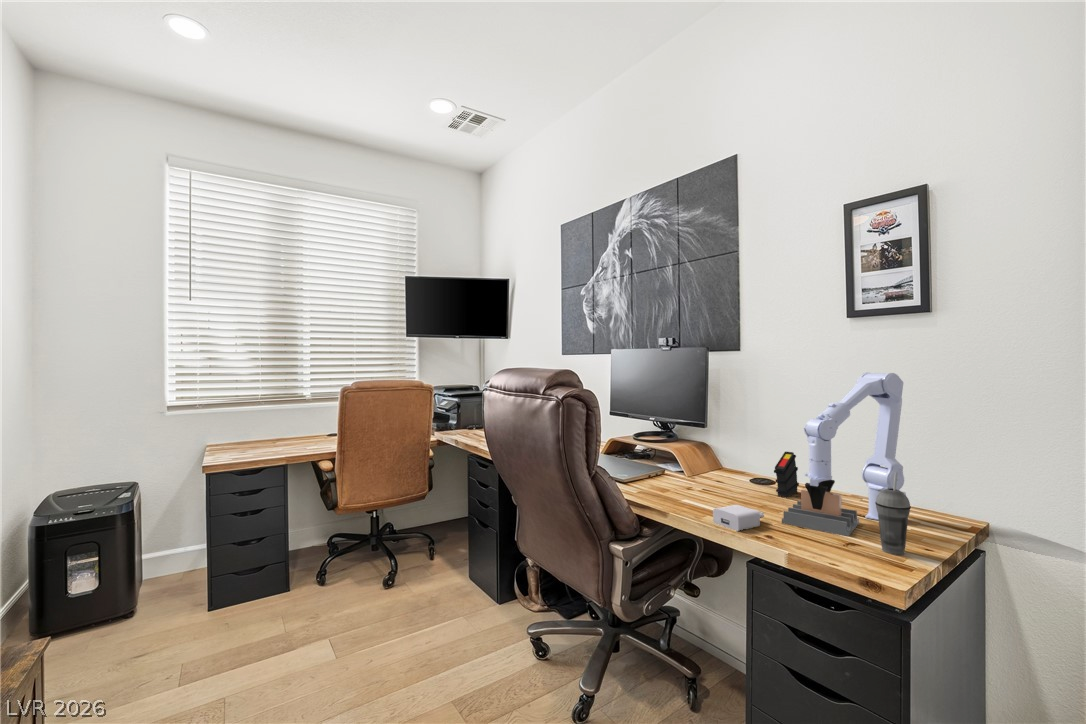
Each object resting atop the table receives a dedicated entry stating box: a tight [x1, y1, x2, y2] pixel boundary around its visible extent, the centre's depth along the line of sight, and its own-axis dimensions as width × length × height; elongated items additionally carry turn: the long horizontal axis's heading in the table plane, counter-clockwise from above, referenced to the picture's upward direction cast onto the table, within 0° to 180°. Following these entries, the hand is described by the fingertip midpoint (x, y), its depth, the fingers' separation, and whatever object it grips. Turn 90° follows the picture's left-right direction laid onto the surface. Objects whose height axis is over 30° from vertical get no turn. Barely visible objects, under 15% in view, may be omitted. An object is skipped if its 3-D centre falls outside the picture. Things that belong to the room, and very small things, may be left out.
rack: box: [781, 500, 860, 537], centre depth 145 cm, size 17×15×4 cm
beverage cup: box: [875, 472, 911, 556], centre depth 123 cm, size 7×7×20 cm
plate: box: [800, 488, 842, 516], centre depth 145 cm, size 10×3×8 cm, turn 48°
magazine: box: [773, 451, 800, 498], centre depth 178 cm, size 4×13×15 cm, turn 133°
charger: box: [712, 504, 765, 532], centre depth 145 cm, size 5×9×15 cm
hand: (820, 506), depth 145 cm, fingers open, 7 cm apart
